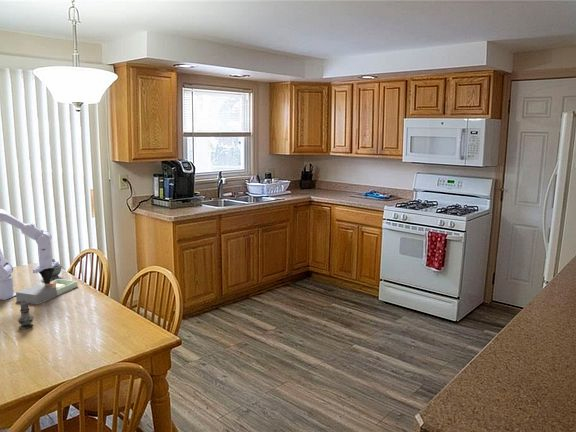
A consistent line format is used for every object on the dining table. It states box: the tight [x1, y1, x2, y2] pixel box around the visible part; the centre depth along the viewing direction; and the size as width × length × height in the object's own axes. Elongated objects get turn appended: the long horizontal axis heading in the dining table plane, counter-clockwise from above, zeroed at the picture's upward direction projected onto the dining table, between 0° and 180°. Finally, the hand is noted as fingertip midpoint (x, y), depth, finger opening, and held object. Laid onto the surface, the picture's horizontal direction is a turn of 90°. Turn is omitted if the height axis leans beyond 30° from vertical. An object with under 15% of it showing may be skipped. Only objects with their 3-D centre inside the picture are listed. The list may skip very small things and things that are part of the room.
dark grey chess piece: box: [17, 300, 34, 330], centre depth 195 cm, size 6×6×12 cm
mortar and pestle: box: [50, 258, 62, 281], centre depth 256 cm, size 11×9×12 cm
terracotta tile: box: [44, 281, 56, 287], centre depth 235 cm, size 5×5×2 cm
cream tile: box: [56, 284, 65, 289], centre depth 239 cm, size 5×5×2 cm
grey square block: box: [15, 284, 57, 305], centre depth 227 cm, size 12×12×4 cm
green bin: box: [43, 278, 79, 297], centre depth 240 cm, size 12×14×3 cm
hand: (47, 283), depth 233 cm, fingers closed
